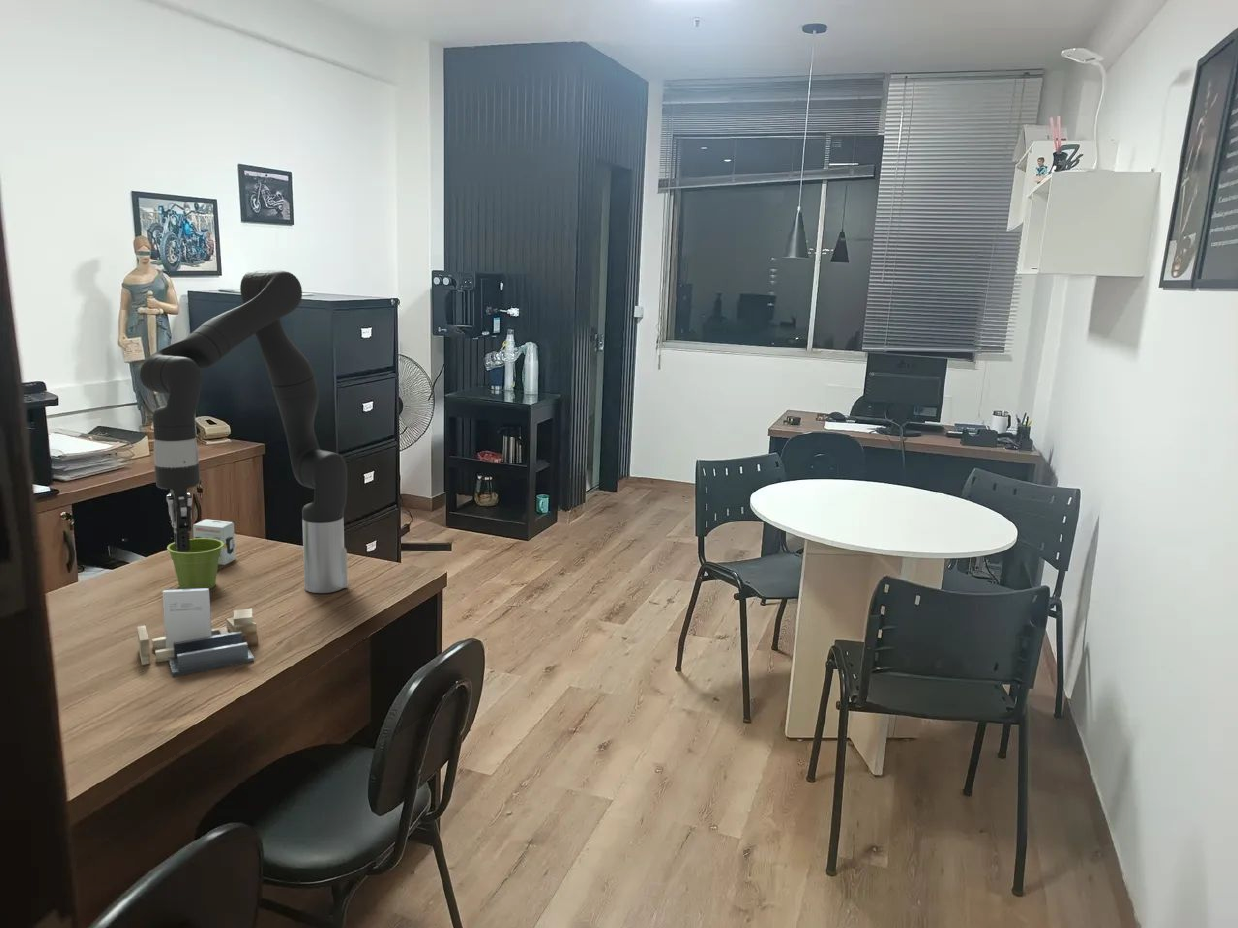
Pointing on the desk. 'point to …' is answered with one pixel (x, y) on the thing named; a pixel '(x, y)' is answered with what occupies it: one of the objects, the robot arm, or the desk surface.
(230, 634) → the stand
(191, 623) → the hard drive
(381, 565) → the desk surface
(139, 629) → the frame
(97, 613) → the desk surface
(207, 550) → the plant pot
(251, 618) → the offcut stack
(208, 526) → the ink box
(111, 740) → the desk surface
